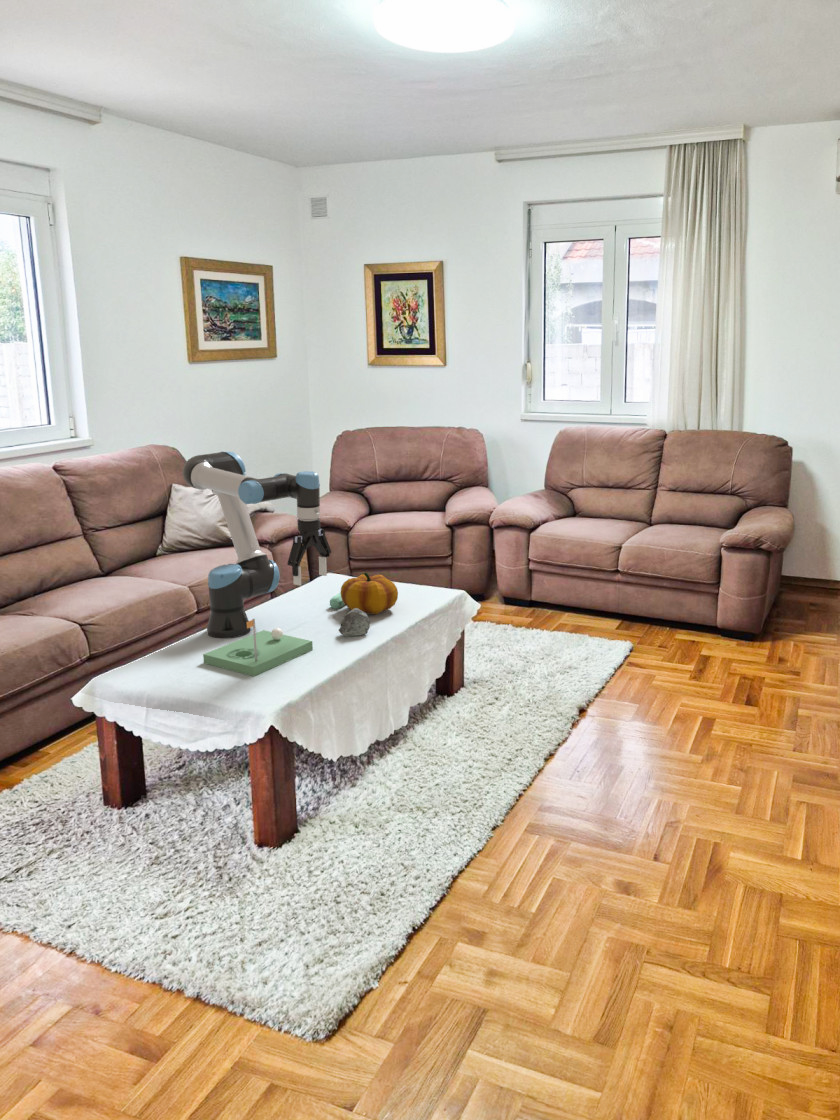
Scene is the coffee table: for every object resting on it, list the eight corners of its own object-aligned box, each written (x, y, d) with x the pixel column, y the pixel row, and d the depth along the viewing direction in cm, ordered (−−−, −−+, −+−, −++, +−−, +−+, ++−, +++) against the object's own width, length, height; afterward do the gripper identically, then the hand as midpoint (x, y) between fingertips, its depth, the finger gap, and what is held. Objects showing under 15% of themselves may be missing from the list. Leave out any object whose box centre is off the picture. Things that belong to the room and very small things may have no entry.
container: (336, 595, 347) (366, 577, 369) (324, 599, 350) (354, 581, 372) (342, 609, 347) (372, 590, 369) (330, 613, 350) (360, 594, 372)
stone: (353, 610, 314) (360, 601, 323) (332, 626, 317) (340, 617, 326) (371, 630, 315) (378, 621, 324) (351, 647, 318) (358, 637, 327)
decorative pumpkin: (354, 622, 333) (352, 582, 330) (335, 606, 353) (333, 568, 349) (405, 614, 341) (404, 575, 337) (383, 599, 361) (382, 562, 357)
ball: (268, 640, 306) (268, 629, 305) (277, 637, 309) (276, 625, 308) (277, 642, 304) (277, 631, 303) (285, 639, 307) (285, 627, 306)
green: (264, 638, 317) (261, 591, 313) (312, 649, 305) (310, 600, 301) (203, 662, 295) (199, 612, 291) (253, 676, 283) (250, 623, 279)
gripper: (293, 527, 291) (295, 590, 297) (340, 513, 312) (341, 572, 317) (275, 524, 295) (277, 587, 301) (323, 510, 315) (324, 569, 321)
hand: (310, 580), depth 309 cm, fingers open, 13 cm apart
